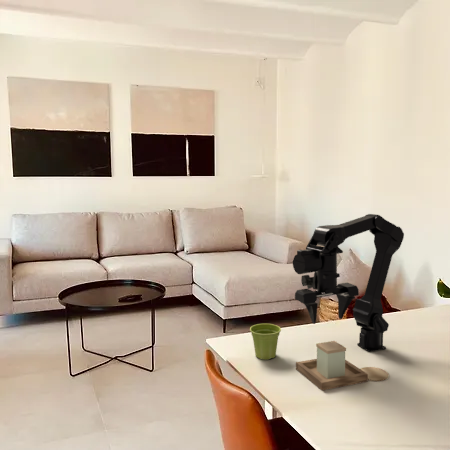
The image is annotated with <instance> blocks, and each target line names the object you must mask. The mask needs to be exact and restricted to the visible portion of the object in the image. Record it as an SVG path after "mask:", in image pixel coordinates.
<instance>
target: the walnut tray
mask: <svg viewBox="0 0 450 450" xmlns="http://www.w3.org/2000/svg"><path fill="white" fill-rule="evenodd" d="M295 370H296V371H297V372H299V373H300V374H301V375H302V376H303V377H304V378H306V379H307V380H308V381H309V382H311V383H312V384H313V385H314V386H315V387H317V388H318V389H320V390H321V391H326V390H327V391H328V390H332V389H336V388H342V387H347V386H352V385H357V384H361V383H362V384H363V383H368V381H369V380H368V374H367V373H365V372H364V371H362V370H361V368H359V367H358V366H356V365H354V364H353V363H351V362H350V361H349V360H347V359H345V376H339V377H334V378H328V379H327V378H326V377H324V376H323V375H322V374H321V373H319V372H318V371H317V358H314V359H312V358H311V359H307V360H302V361H301V360H300V361H296V362H295Z"/></svg>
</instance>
